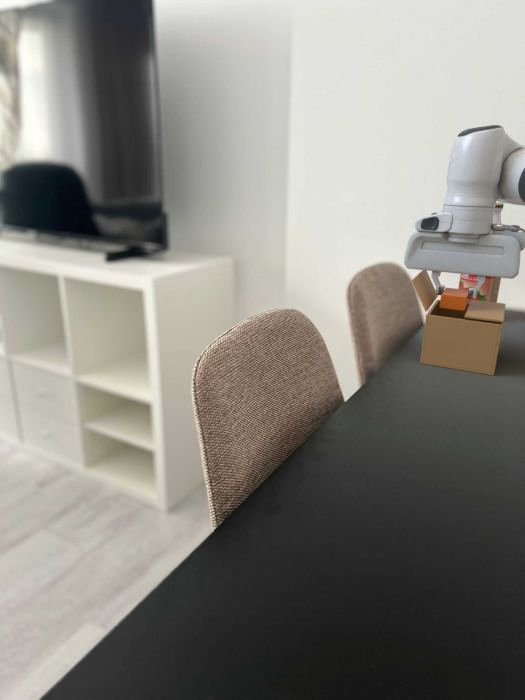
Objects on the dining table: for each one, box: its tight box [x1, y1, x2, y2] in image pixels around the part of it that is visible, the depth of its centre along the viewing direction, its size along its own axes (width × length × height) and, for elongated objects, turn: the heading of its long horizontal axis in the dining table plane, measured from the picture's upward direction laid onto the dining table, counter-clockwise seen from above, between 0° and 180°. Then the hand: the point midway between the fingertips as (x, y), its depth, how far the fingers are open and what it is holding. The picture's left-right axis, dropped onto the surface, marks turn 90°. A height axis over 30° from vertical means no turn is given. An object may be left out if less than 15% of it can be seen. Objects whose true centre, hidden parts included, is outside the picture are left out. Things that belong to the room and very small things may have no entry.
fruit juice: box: [457, 202, 504, 303], centre depth 126 cm, size 9×9×28 cm
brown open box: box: [419, 299, 506, 377], centre depth 99 cm, size 14×13×10 cm
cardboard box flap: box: [411, 270, 439, 312], centre depth 100 cm, size 14×6×1 cm
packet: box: [439, 287, 469, 311], centre depth 98 cm, size 4×7×3 cm, turn 154°
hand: (455, 296), depth 98 cm, fingers closed on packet, 4 cm apart
